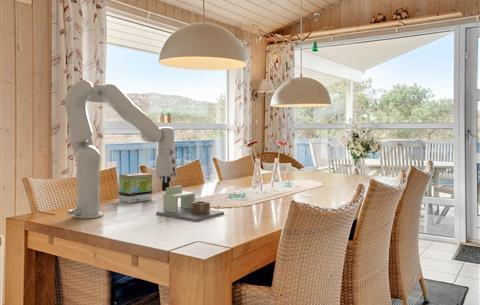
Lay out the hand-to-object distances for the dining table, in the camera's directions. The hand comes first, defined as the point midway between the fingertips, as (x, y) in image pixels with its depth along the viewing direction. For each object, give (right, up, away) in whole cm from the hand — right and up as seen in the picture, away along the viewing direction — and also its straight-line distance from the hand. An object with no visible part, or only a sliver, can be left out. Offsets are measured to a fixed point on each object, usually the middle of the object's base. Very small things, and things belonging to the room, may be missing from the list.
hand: (165, 190), depth 200 cm
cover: (+7, -9, -5) cm, 12 cm away
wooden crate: (+18, -9, -12) cm, 23 cm away
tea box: (-21, -8, +25) cm, 34 cm away
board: (+13, -10, -8) cm, 19 cm away
